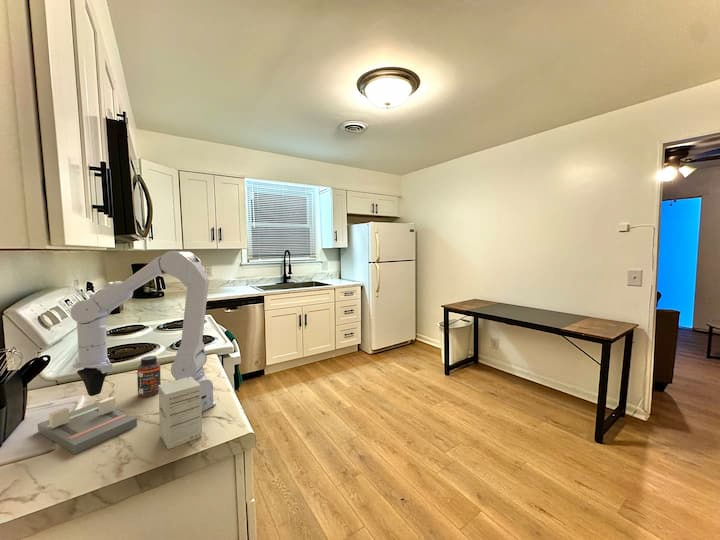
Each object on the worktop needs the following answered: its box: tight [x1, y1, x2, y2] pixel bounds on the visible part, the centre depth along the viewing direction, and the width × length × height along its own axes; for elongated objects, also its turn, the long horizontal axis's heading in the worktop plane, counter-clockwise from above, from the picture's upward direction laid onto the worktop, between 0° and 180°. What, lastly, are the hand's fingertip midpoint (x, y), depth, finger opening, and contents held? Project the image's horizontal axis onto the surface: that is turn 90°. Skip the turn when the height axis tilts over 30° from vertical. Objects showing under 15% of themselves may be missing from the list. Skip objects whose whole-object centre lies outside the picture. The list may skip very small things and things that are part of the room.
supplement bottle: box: [136, 355, 162, 398], centre depth 93 cm, size 6×6×11 cm
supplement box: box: [158, 377, 203, 450], centre depth 70 cm, size 7×7×13 cm
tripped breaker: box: [97, 396, 117, 415], centre depth 77 cm, size 2×3×3 cm, turn 154°
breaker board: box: [37, 401, 138, 455], centre depth 74 cm, size 19×12×2 cm, turn 64°
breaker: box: [48, 407, 70, 428], centre depth 71 cm, size 2×3×3 cm, turn 154°
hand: (94, 394), depth 80 cm, fingers closed
